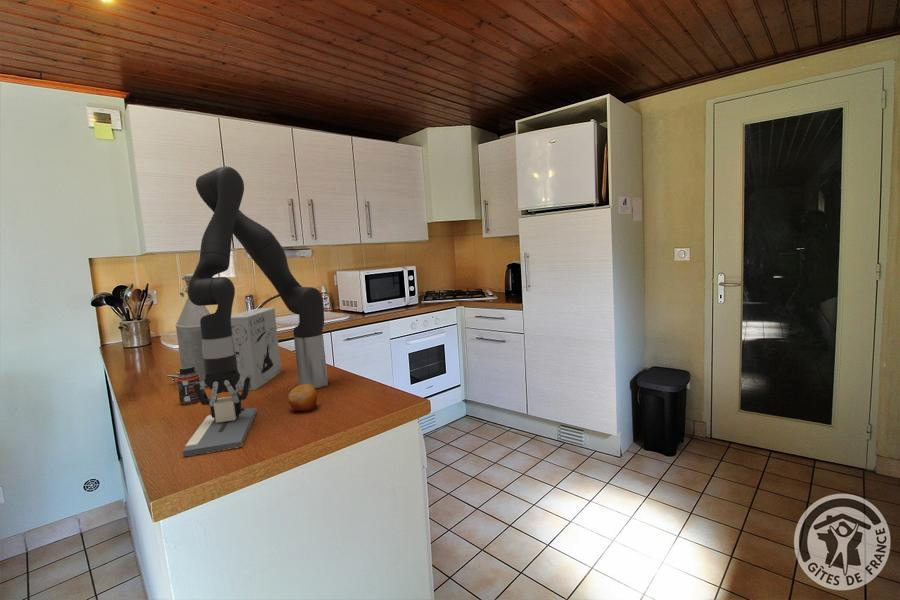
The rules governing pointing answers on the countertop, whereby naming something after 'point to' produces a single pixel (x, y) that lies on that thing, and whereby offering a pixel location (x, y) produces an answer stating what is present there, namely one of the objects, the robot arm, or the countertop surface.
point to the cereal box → (256, 346)
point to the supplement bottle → (187, 385)
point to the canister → (191, 334)
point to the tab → (224, 409)
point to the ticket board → (220, 434)
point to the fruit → (303, 398)
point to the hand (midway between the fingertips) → (227, 416)
